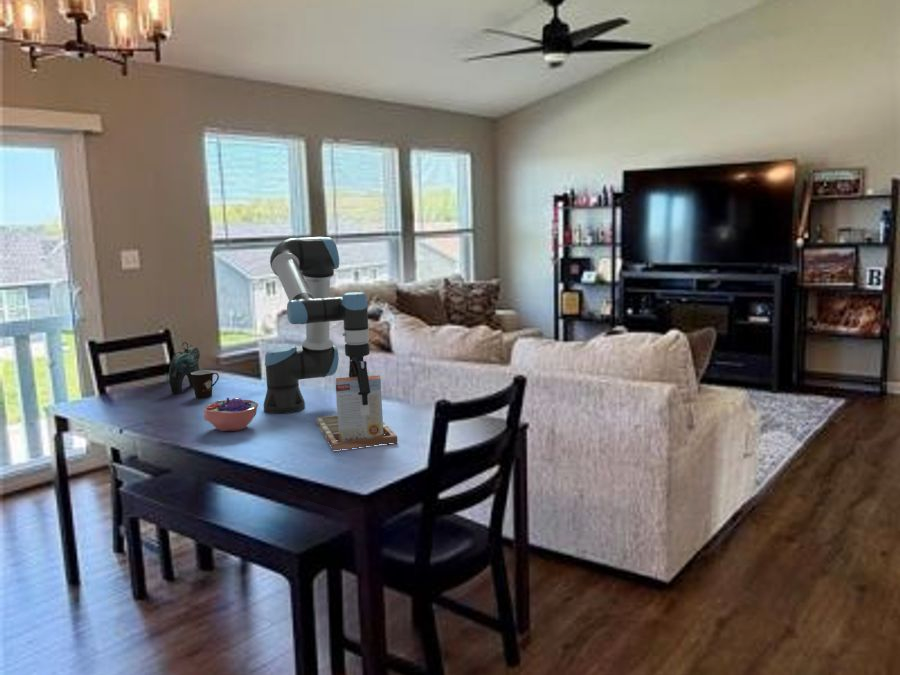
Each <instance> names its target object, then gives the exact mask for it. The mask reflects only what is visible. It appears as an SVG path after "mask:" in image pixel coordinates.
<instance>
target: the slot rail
mask: <svg viewBox="0 0 900 675" xmlns="http://www.w3.org/2000/svg"><path fill="white" fill-rule="evenodd" d="M326 424H327V425H326ZM316 426H317V427H318V429H319V428H320V429H319V430H320V432H321V431H322V432H321V434H322V433H323V434H322V435H323V437H324V436H325V437H324V438H325V440H326V439H327V440H326V442H327V441H328V442H329V443H328V442H327V443H328V445H329V444H330V445H331V447H332V448H333V450H340V449H341V450H342V449H352V448H359V447H366V446H374V445H379V444H389V443H397V442H398V435H397V434H396V433H395V432H394V431H393V430H392V429H391V428H390V427H389V426H388V425H387V424H386V423H385V421H383V434H385V435H386V436H385V435H384V436H383V437H375V438H367V439H359V440H351V441H343V442H339V441H336V440H339V432H338V431H339V430H338V415H337V414H336V415H328V416H325V415H324V416H317V417H316ZM331 432H333V433H331ZM330 445H329V446H330ZM331 447H330V448H331ZM332 448H331V449H332ZM333 450H332V451H333Z"/></svg>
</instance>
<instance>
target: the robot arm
mask: <svg viewBox="0 0 900 675" xmlns="http://www.w3.org/2000/svg"><path fill="white" fill-rule="evenodd" d="M269 263H270V268H271V270H272V272H273V274H274V275H275V276H277V277H278V279H279V281H280V283H281V285H282V288H283V290H284V293H285V295H286V297H287V299H288V302H287V304H286V315H287V319H288V321H289V323H290V324H291V325H306V326H305V334H306V335H305V340H303V342H302V343H301V344H302V345H301V346H302V347H301V348H298V347H297V346H296V345H294V344H290V345H289V344H288V345H281V346H276V347H273V348H270V349H268V350H267V351H266V352H265V354H264V366H265V375H266V376H265V377H266V394H265V397H264V402H263V411H264V412H265V413H268V414H276V415H277V414H289V413H295V412H299V411H301V410H303V409H305V408H306V405H305V399H304V396H303V394H302V392H301V389H300V384H299V380H305V379H307V380H309V379H316V378H317V379H318V378H326V377H329V376H330V377H331V376H334V374H336V372H337V370H338V366H339V362H340V360H339V359H340V358H339V350H338V347H337V346H336V345H334V341H333V340H332V339H331V338H330V322H340V321H343V330H344V332H342V337H344V343H345V344H344V354H345V356H346V357H349V368H348V369H349V370H348V377H357V379H358V384H359V389H360V392H358V395H359V397H360V415H369V414H370V412H369V393H370V387H369V380H368V376H369V375H368V374H369V373H368V364H367V363H368V361H366V360H365V361H364V357H366V356H369V355H370V353H371V352H370V343H369V341H370V331H369V315H368V314H369V311H368V310H369V309H368V306H369V304H368V298H367V294H366V293H365V292H364V291H363V292H360V291H358V292H357V291H354V292H352V291H351V292H345V293H344V294H342V295H338V296H335V297H331V296H330V287H331V286H330V283H331V282H330V280H331V278H333V276H334V275H335V270H338V269H339V268H340V256H339V250H338V247H337V244H336V241H334V238H331V237H329V236H328V237H325V236H324V237H323V236H315V237H314V236H313V237H291V238H288V239H284V240H282V241H281V242H279V243H278V244H277V245H276V246H275V247H274V248H273V250H272V252H271V254H270V258H269ZM364 389H365V390H364Z"/></svg>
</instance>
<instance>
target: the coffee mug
mask: <svg viewBox="0 0 900 675" xmlns="http://www.w3.org/2000/svg"><path fill="white" fill-rule="evenodd" d="M214 375H216V376H217V378H216V380H215V381H214V382H213V379H214V378H213V377H214ZM191 378H192V383H193V386H192V387H193V392H194V396H195V398H196V399H208V398H211V397H213V387H214V386H215V385H216V383H217V382H218V381H219V378H220V375H219V373H218V372H214V371H213V370H207V369H206V370H199V371H196V372H192V373H191Z"/></svg>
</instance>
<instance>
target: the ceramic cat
mask: <svg viewBox="0 0 900 675" xmlns="http://www.w3.org/2000/svg"><path fill="white" fill-rule="evenodd" d="M185 344H186V347H184V345H185ZM181 346H182V348H183V351H177V352H176V353H175V354H174V355H172V358H171V359H172V360H171V361H170V364H169V368H168V382H169V384H170V389H171V394H173V395H175V394H176V395H179V394H181V393H182V392H183V388H182V387H183V381H184V379H185V377H187V379H188V380H187V381H188V383H189V386H190V387H193V383H192V378H191V373H192V372H196V371H200V365H199V364H200V363H199V359H200V356H201V355H200V354H201V353H200V350H199V348H197V347H194V346H193V345H192V343H190V345H189V344H188V343H187V342H186V341H184V342H182V343H181Z"/></svg>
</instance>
